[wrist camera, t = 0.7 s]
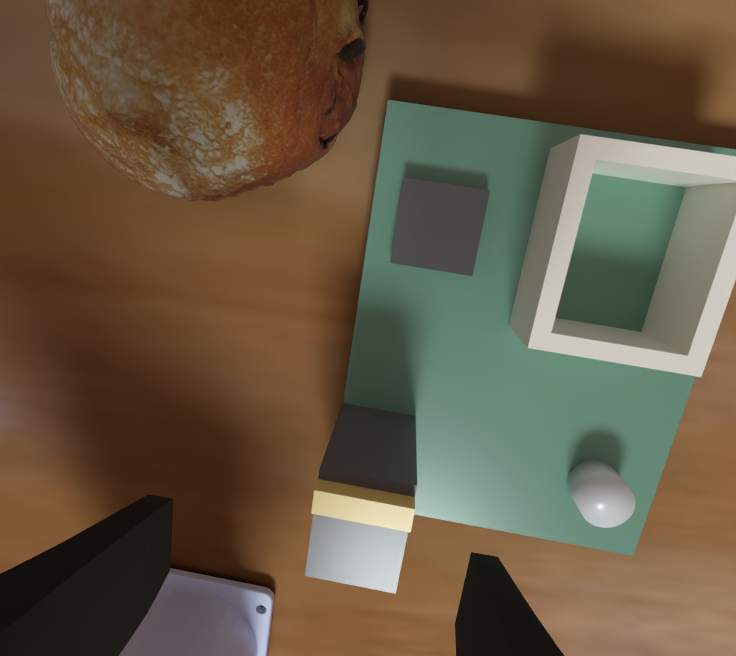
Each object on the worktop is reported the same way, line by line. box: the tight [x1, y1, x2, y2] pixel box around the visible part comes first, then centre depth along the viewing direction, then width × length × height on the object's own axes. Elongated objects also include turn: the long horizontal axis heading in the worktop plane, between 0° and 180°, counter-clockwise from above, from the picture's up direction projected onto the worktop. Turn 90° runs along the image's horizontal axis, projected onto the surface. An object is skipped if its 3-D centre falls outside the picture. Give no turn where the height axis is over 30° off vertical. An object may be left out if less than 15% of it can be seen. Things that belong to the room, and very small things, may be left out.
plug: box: [305, 403, 417, 594], centre depth 17 cm, size 4×3×6 cm
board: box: [343, 100, 736, 556], centre depth 18 cm, size 16×13×2 cm
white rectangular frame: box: [509, 134, 736, 377], centre depth 15 cm, size 6×5×3 cm
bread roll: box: [46, 0, 368, 201], centre depth 15 cm, size 10×10×8 cm
